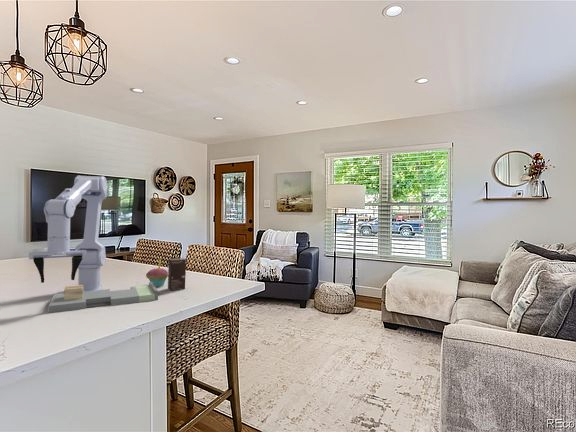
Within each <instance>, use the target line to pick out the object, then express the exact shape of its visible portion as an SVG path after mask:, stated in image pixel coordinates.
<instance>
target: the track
mask: <svg viewBox="0 0 576 432" xmlns="http://www.w3.org/2000/svg"><path fill="white" fill-rule="evenodd" d="M148 283H149V284H148V285H137V286H130V289H120V290H119V289H118V290H110V288H108V289H102V290H95V291H84V292H83V298H82V299H73V300H64V293H56V294H54V295H53V296H52V299H51V300H50V302H49V304H48V308H47V309H48V313H57V312H65V311H74V310H82V309H89V308H91V309H92V308H100V307H106V306H115V305H116V306H117V305H123V304H132V303H141V302H142V303H144V302H149V301H158V300H159V290H158V289H157V288H158V287H155V286H154V284H153V283H152V282H150V281H149V282H148Z"/></svg>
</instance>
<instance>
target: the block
mask: <svg viewBox="0 0 576 432" xmlns="http://www.w3.org/2000/svg"><path fill="white" fill-rule="evenodd" d="M63 292H64V293H63V294H64V300H73V299H82V298H83V285H78V284H77V285H76V284H75V285H66V286H65V287H64V289H63Z"/></svg>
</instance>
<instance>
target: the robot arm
mask: <svg viewBox="0 0 576 432" xmlns="http://www.w3.org/2000/svg"><path fill="white" fill-rule="evenodd" d="M108 185H109V184H108V181H107V178H106V177H105V176H103V175H102V176H93V175H92V176H91V175H88V176H87V175H77V176H76V177H74V182H73V186H72V187H70V188H67V187H66V188H65V189H64V190H63V191H62V192H61V193H60V194H59V195H57V196H56V197H55V199H54V198H53V199H49V200H47V201H46V202H45V204H44V207H43V213H44V216H45V222H46V224H47V250H45V251H36V252H35V251H33V252H28V260H33V264H34V265H35V266H36V268H37V271H38V273H39V277H40V283H42V284H43V283H45V274H44V273H45V272H44V269H45V267H44V266H45V259H57V258H71V272H70V274H71V275H70V279H71V281H75V278H76V277H75V276H76V274H77V273H78V275H77V277H78V278H77V281H78V282H77V283H78V284H77V285H83V292H84V291H95V290H103V289H102V284H101V269H102V266H104V265H105V263H106V260H107V253H106V247H105V246H104V244H102V243H100V242H99V234H100V223H101V215H102V214H101V212H102V203H103V201H104V200H106V199H107V196H108V189H109V188H108V187H109V186H108ZM82 199H84V200H86V202H87V203H86V210H85V211H86V212H85V221H84V232H83V239H82V240H83V241H82V242H80V243H79V244H76V246H75V249H74V250H73V249H71V218H72V217H74V215H75V211H76V208H77V205H78V204H80V202H81V201H82ZM70 249H71V250H70Z"/></svg>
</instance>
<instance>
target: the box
mask: <svg viewBox="0 0 576 432" xmlns="http://www.w3.org/2000/svg"><path fill="white" fill-rule="evenodd" d="M167 267H168V269H167V272H168V277H167V289H168V290H169V291H175V290H184V289H186V274H187V273H186V271H187V259H185V258H184V257H179V258H178V257H176V258H175V257H174V258H169V259H168V265H167Z"/></svg>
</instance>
